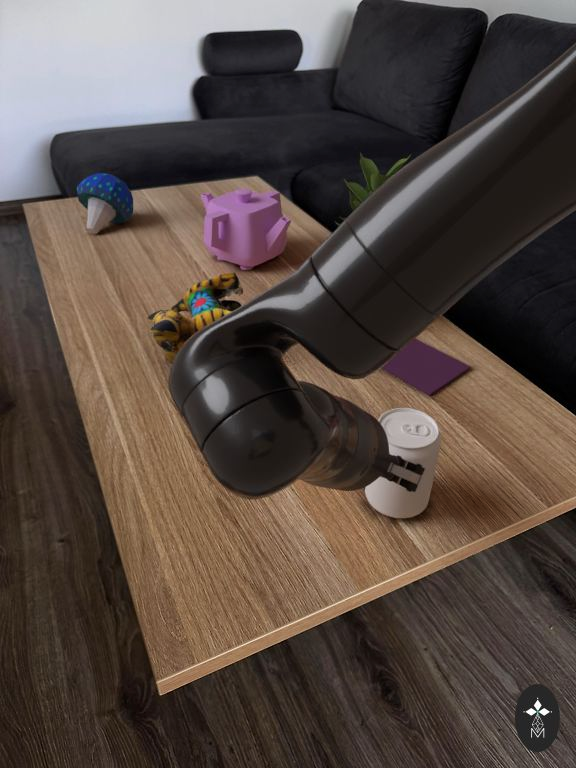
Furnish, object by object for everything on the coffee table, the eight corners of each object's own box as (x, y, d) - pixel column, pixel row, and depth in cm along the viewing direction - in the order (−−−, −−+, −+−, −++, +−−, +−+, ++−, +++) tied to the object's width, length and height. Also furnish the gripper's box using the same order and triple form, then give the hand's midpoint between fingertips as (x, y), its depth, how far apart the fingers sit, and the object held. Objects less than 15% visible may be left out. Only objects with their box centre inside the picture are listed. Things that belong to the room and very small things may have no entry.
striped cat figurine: (239, 330, 116) (146, 336, 112) (239, 268, 111) (142, 271, 106) (262, 369, 99) (153, 378, 94) (263, 298, 93) (148, 303, 89)
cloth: (470, 369, 99) (470, 366, 99) (430, 396, 93) (430, 393, 93) (413, 340, 106) (413, 337, 106) (372, 363, 100) (372, 361, 100)
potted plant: (320, 296, 119) (327, 140, 101) (394, 293, 120) (414, 139, 102) (331, 336, 107) (341, 167, 89) (413, 332, 108) (439, 165, 90)
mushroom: (53, 207, 136) (80, 153, 140) (74, 236, 150) (98, 187, 153) (110, 225, 135) (135, 170, 139) (126, 253, 149) (148, 203, 152)
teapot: (204, 241, 140) (199, 177, 131) (280, 238, 142) (280, 174, 133) (206, 278, 125) (200, 209, 116) (291, 274, 127) (292, 205, 118)
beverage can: (365, 471, 80) (373, 402, 73) (426, 477, 79) (440, 408, 72) (363, 518, 73) (372, 447, 66) (429, 525, 73) (445, 454, 65)
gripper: (423, 432, 47) (453, 455, 63) (286, 376, 53) (344, 410, 68) (387, 519, 47) (425, 520, 62) (252, 453, 53) (318, 470, 68)
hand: (383, 462), depth 65 cm, fingers closed
